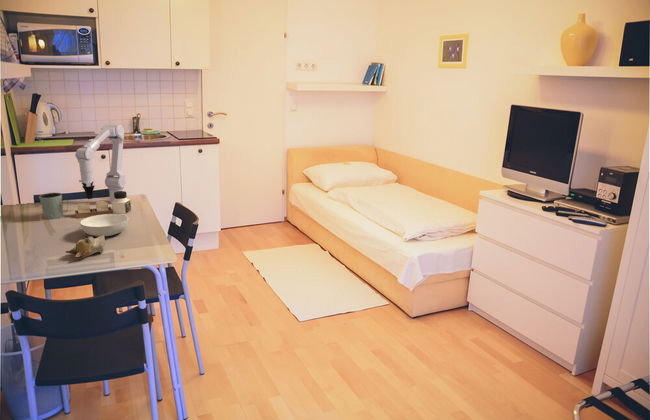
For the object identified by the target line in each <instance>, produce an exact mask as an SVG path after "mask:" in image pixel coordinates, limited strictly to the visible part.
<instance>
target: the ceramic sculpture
mask: <svg viewBox="0 0 650 420" xmlns="http://www.w3.org/2000/svg"><path fill="white" fill-rule="evenodd" d="M105 245H106V238H105V236H104V235H102V236H100V237H99V236H96V238H94V236H92V235H86V236H85V237H84V238H82V239H79V240H78V241H77V242H76V243H75V246H74V247H73V248H72V249H70V250H66V251H65V253H66V254H70V255H71V254H72V255H74V256H73V259H85V258H86V257H89V256H92V255H93V254H95V253H99V252H100V253H104V250H105V249H104V247H105Z"/></svg>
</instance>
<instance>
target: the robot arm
mask: <svg viewBox="0 0 650 420" xmlns="http://www.w3.org/2000/svg"><path fill="white" fill-rule="evenodd" d="M100 129H101V131H99V133H98V134H97V135H96V136H95V138H91V139H90V138H89V139H88V141H87V142H86V143H85V144H83V146H82V147H79V148H78V149H76V151H75V154H74V155H75V156H74V157H76V159H77V162H78V164H79V165H78V166H79V172H80V179H79V180H78V182H79V183H81V184H82V189H83V190H84V192H85V195H86V198H87V200H92V199H93V197H94V189H95V184H94V182H95V179H94V173H93V166H92V159H93V158H94V154H95V153H96V151H98V149H99V148H100V147H101V143H102V142H103V141H104V140H106V139H109V140H110V141H111V142H112V147H111V150H112V151H111V162H110V170H109V171H108V172H107V173H106V174H105V175H106V177H105V180H104V184H105V187H107V189H108V191H109V192H108V193H109V201H108V204H112V202H113V201H114V200H115V198H114V192H116V191H124V188H125V187H126V184H127V181H126V175H125V174H124V173H123V172H122V164H123V163H122V161H123V149H124V141H125V128H124V127H123V125H121V124H107V123H105V124H104V125H102V126H101V128H100Z"/></svg>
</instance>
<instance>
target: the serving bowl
mask: <svg viewBox="0 0 650 420" xmlns="http://www.w3.org/2000/svg"><path fill="white" fill-rule="evenodd" d="M129 219H130V218H129V217H128V216H127V215H125V214H114V213H112V214H103V215H96V216H91V217H88V218H82V219H81V220H80V222H79V225H80V228H81V230H82V231H83V232H84V233H86V234H87V235H88V236H91V237H100V236H102V235H104V236H106V237H111V236H114V235H117V234H120V233H121V232H123V231H125V229H126V228H127V227H128V224H129Z"/></svg>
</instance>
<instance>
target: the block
mask: <svg viewBox="0 0 650 420" xmlns="http://www.w3.org/2000/svg"><path fill="white" fill-rule="evenodd" d="M95 206H96V208H97V212H98V211H107V210H109V209H108V207H109V201H108V200H102V201H101V200H100V201H99V200H98V201H95ZM96 208H95V209H96Z"/></svg>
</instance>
